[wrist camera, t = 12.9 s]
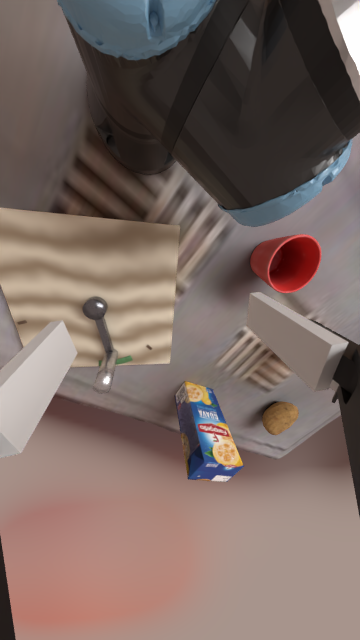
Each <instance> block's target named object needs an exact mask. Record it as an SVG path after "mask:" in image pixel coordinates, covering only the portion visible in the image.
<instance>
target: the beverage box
mask: <svg viewBox="0 0 360 640" xmlns="http://www.w3.org/2000/svg"><path fill="white" fill-rule="evenodd" d="M175 400H176V406H177V413H178V419H179V425H180V431H181V438H182V444H183V450H184V456H185V463H186V469H187V475H188V479H192V480H207V481H220V482H227V481H228V480H229V479H230V478H231V477H233V476H234V475H235V474H236V473H237V472H238V471H239V470H240V469H241V468H242V467H244V466H243V464H242V461H241V459H240V456H239V454H238V451H237V449H236V446H235V444H234V441H233V439H232V436H231V434H230V431H229V429H228V426H227V424H226V421H225V419H224V416H223V414H222V411H221V409H220V406H219V404H218V401H217V399H216V396H215V394H214V391H213V389H210V388H207V387H203V386H200V385H196V384H193V383H190V382H186V381H185V382H184V383H183V385H182V386H181V388H180V389H179V391H178V392H177V393H176V395H175Z"/></svg>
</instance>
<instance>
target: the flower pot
mask: <svg viewBox="0 0 360 640" xmlns="http://www.w3.org/2000/svg"><path fill="white" fill-rule="evenodd" d="M320 261H321V248H320V245H319V243H318V242H317V241H316V240H315V239H314V238H313V237H311V236H309V235H304V234H300V235H293V236H287V237H281V238H276V239H272V240H268V241H265V242H262V243H261V244H259V245H258V246H257V247H256V248H255V250H254V251H253V253H252V255H251V259H250V265H251V268H252V270H253V271H254V272H255V273H256V274H257V275H258V276H259V277H260V278H261V279H262V280H263V281H264V282H266V283H267V284H268V285H269V286H270V287H272V288H273V289H274V290H276V291H278V292H281V293H291V292H295V291H297V290H299V289H301V288H303V287H304V286H305V285H307V284H308V283H309V282H310V281H311V279H312V278H313V277H314V275H315V274H316V272H317V270H318V268H319V265H320Z"/></svg>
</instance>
